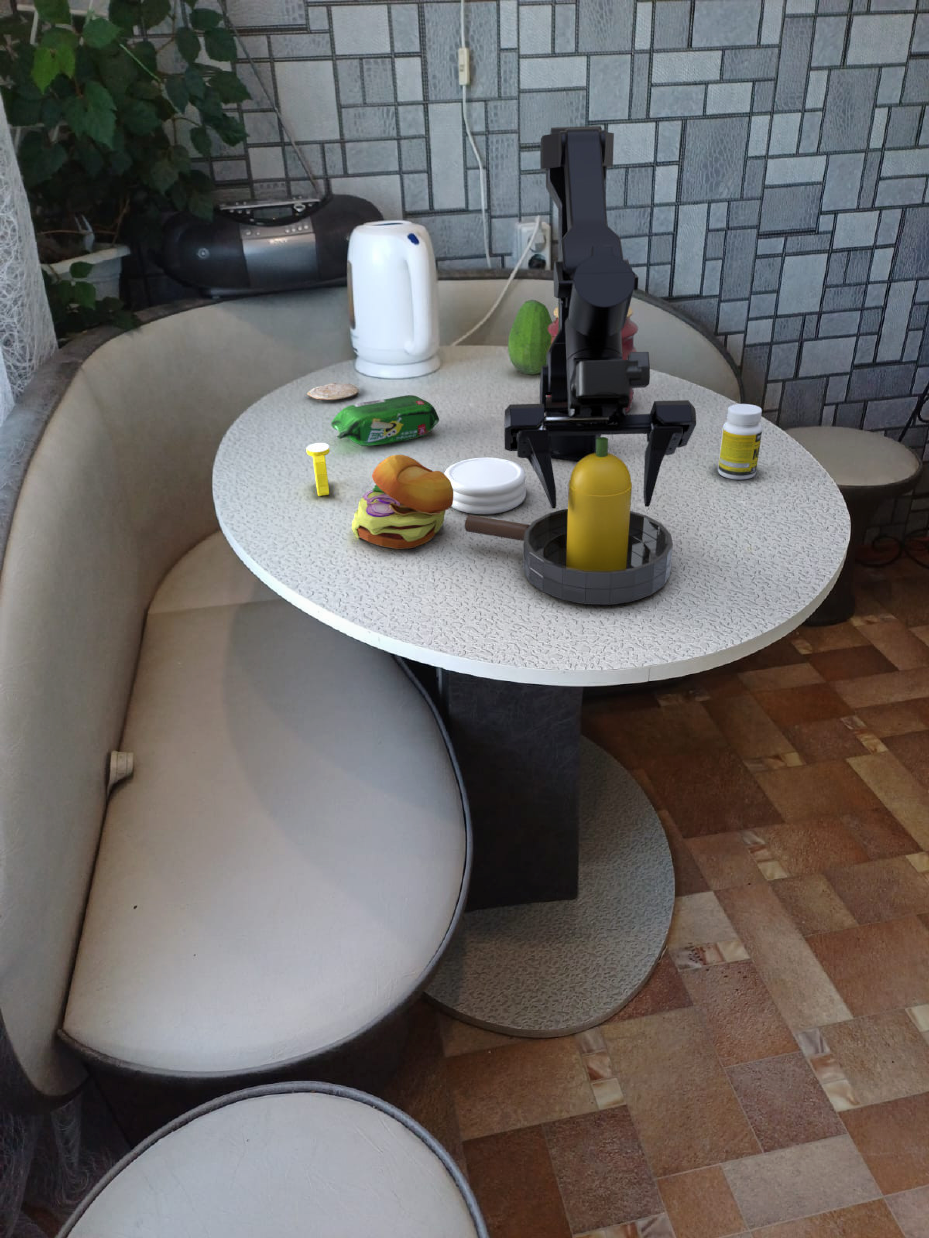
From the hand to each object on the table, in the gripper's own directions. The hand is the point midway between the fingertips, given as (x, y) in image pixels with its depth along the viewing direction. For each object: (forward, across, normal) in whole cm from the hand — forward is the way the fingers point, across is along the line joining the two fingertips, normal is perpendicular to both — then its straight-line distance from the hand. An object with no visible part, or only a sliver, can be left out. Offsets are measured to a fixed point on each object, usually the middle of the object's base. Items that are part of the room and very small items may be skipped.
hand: (600, 506), depth 92 cm
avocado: (-44, -4, +56) cm, 71 cm away
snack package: (-23, -26, +35) cm, 49 cm away
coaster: (-8, -12, +20) cm, 25 cm away
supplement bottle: (-13, +20, +25) cm, 34 cm away
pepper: (+4, 0, +6) cm, 8 cm away
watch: (-11, -32, +22) cm, 40 cm away
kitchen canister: (-31, +4, +43) cm, 54 cm away
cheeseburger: (-2, -21, +14) cm, 25 cm away
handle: (0, -10, +8) cm, 13 cm away
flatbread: (-37, -36, +49) cm, 71 cm away
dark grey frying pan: (+5, 0, +7) cm, 8 cm away
